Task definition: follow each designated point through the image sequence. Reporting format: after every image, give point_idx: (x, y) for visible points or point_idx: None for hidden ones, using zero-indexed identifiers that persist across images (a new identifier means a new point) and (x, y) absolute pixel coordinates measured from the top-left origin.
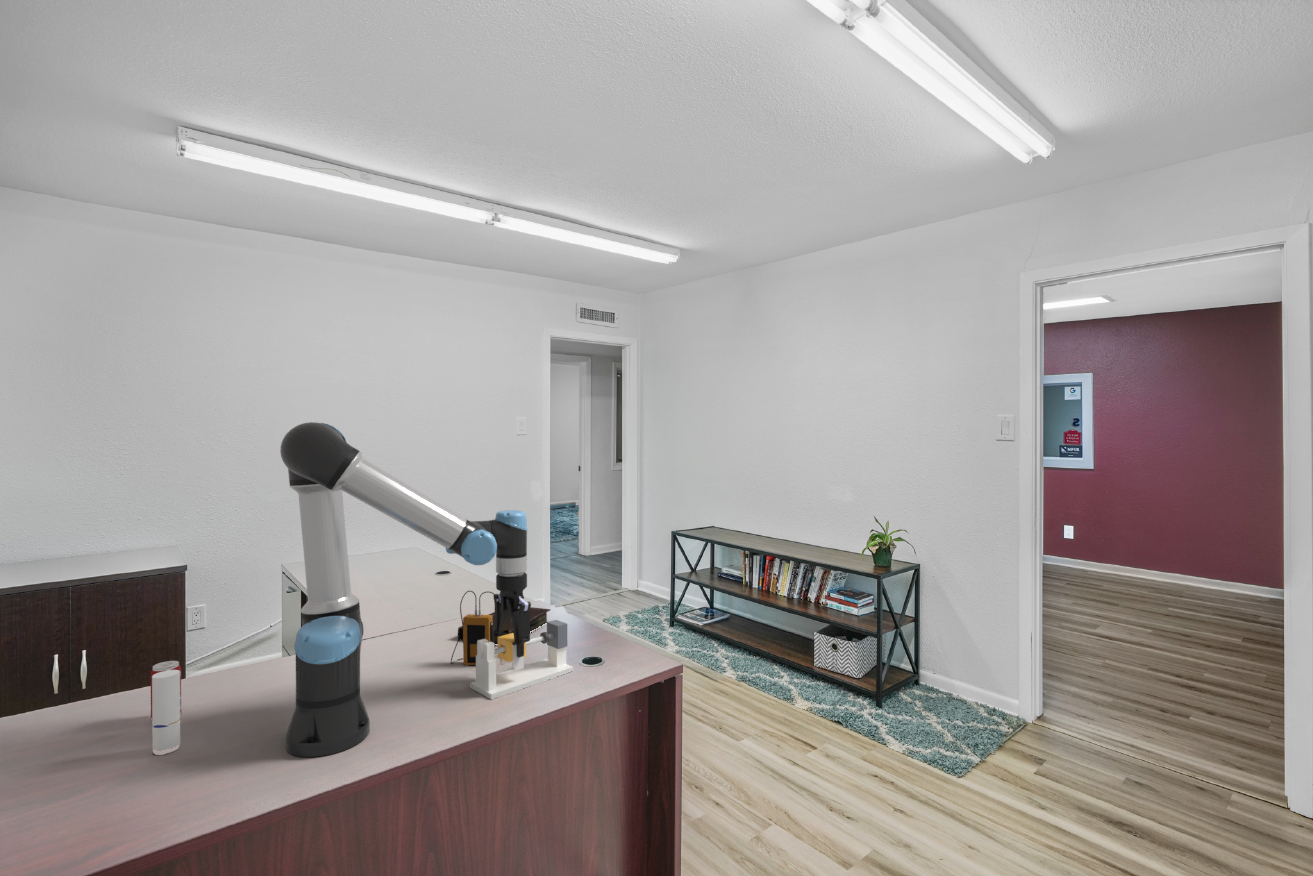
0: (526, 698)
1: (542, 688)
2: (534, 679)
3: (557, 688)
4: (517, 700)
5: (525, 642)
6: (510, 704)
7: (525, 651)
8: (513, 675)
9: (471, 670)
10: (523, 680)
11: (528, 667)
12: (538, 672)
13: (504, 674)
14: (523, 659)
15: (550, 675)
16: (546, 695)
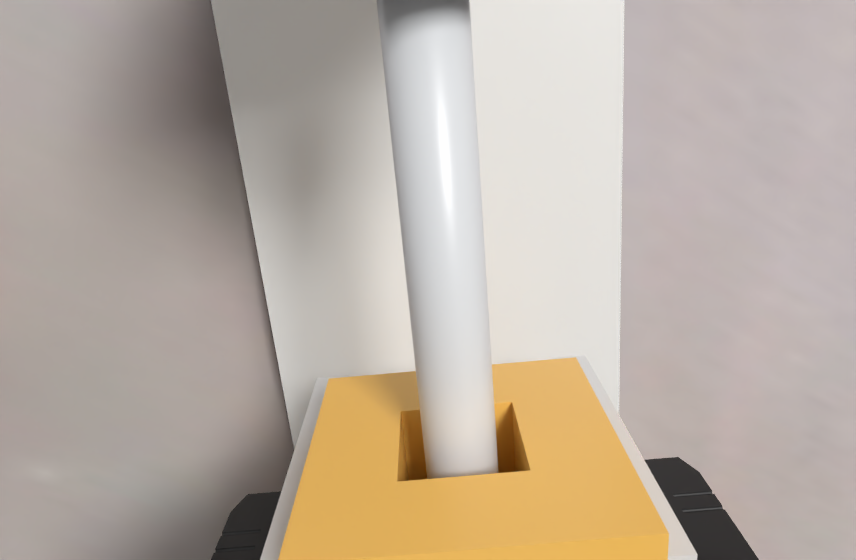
0: (770, 385)
1: (716, 211)
2: (613, 233)
3: (817, 112)
4: (748, 442)
5: (633, 475)
6: (763, 497)
7: (594, 398)
8: (405, 327)
9: (6, 461)
10: (563, 313)
11: (309, 131)
12: (491, 118)
13: (334, 371)
14: (611, 404)
15: (622, 54)
16: (849, 253)
